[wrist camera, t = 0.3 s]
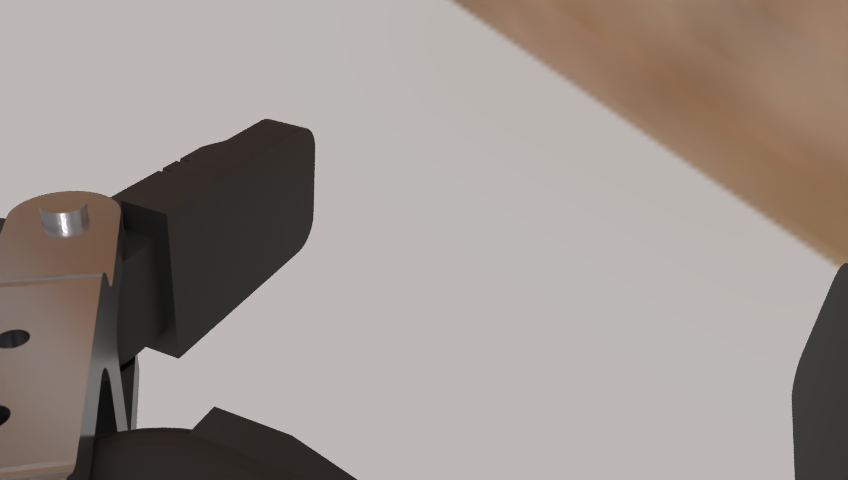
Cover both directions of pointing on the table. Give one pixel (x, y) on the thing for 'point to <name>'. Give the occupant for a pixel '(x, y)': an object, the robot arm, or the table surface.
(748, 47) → the table surface
